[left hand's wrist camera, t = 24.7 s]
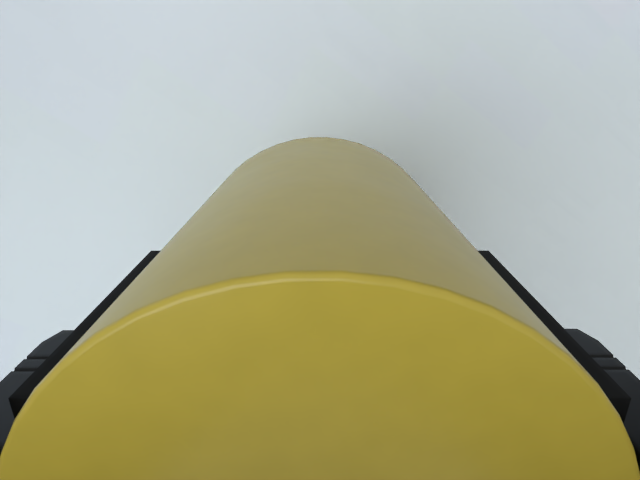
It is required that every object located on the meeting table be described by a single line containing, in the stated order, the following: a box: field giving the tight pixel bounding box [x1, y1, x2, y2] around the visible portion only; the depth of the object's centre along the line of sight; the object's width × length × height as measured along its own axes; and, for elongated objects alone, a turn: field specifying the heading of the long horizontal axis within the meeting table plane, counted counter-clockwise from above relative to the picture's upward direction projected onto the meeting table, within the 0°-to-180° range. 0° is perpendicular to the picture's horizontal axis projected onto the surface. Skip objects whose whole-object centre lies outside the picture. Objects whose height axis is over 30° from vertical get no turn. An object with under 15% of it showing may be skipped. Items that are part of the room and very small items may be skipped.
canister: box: [0, 137, 640, 480], centre depth 11 cm, size 9×9×11 cm
